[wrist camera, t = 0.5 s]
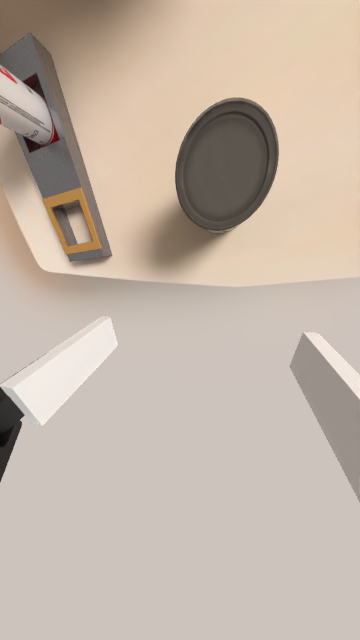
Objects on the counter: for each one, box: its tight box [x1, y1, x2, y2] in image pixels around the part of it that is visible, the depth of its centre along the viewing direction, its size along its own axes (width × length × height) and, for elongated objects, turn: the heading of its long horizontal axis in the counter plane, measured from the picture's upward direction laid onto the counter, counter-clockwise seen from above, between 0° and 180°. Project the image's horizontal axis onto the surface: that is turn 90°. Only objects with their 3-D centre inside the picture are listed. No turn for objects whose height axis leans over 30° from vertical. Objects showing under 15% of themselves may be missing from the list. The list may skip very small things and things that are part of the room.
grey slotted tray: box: [0, 33, 112, 262], centre depth 31 cm, size 30×10×3 cm, turn 8°
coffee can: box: [175, 98, 279, 233], centre depth 22 cm, size 10×10×14 cm
